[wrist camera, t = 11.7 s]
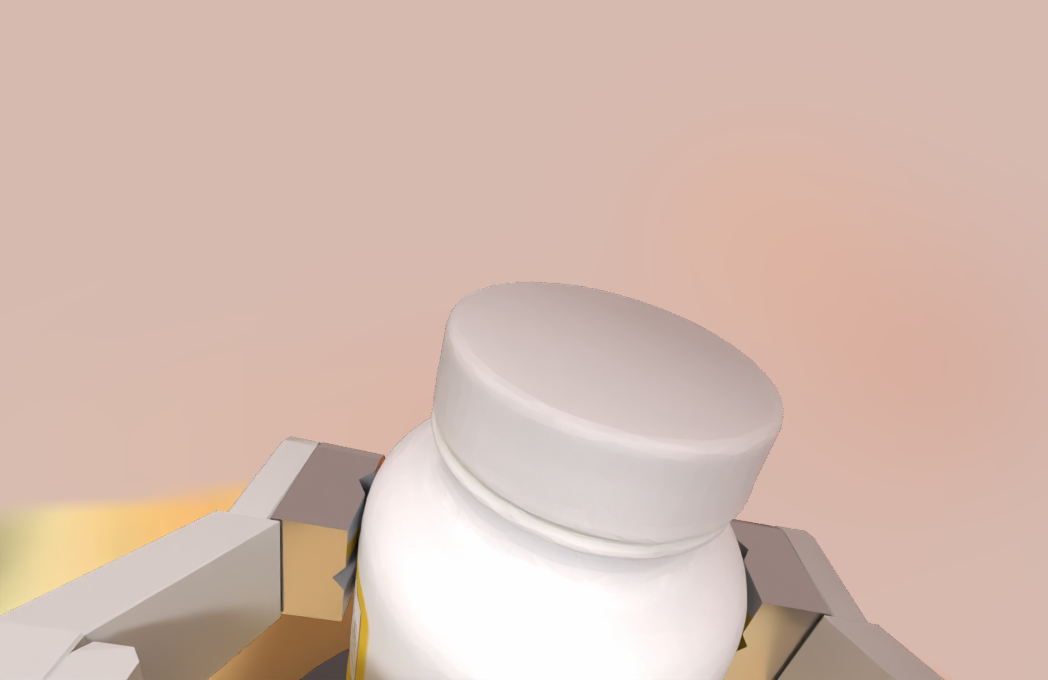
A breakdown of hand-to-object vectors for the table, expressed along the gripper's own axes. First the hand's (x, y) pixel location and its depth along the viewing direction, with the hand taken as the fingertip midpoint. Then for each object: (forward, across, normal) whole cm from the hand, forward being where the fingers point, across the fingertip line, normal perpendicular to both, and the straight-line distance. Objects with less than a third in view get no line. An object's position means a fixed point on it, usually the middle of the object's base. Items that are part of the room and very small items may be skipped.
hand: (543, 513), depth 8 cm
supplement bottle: (-1, 0, +6) cm, 6 cm away
